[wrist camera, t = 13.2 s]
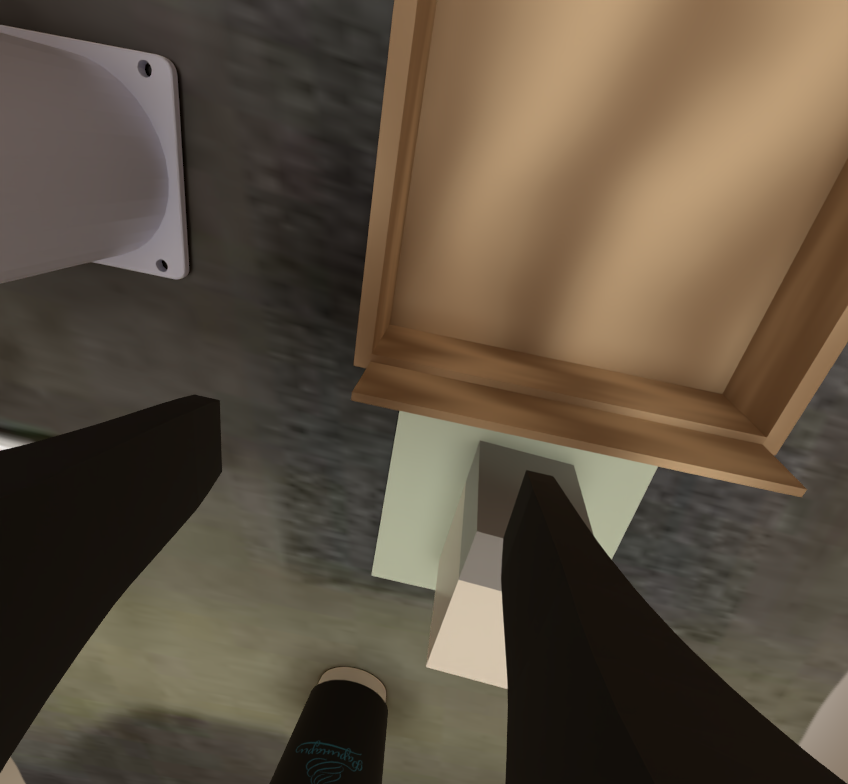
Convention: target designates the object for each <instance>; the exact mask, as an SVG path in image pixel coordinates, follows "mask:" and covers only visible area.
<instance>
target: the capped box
mask: <svg viewBox="0 0 848 784" xmlns="http://www.w3.org/2000/svg"><path fill="white" fill-rule="evenodd" d="M526 470H528V471H533V472H537V473H542V474H546V475H551V476H553V477H554V478H555V479H556V481H557V482H558V484H559V485H560V487H561V488H562V490H563V491H564V493H565V494H566V496H567V497H568V499H569V500H570V502H571V503H572V505H573V506H574V508H575V509H576V511H577V512H578V514H579V515H580V517H581V518H582V520H583V521H584V523H585V524H586V526H587V527H588V528H589V530H590V531H591V533H592V534H593V531H592V528H591V524H590V521H589V517H588V514H587V510H586V506H585V503H584V499H583V496H582V492H581V489H580V485H579V482H578V478H577V475H576V471H575V468H574V465H571V464H568V463H564V462H560V461H556V460H553V459H549V458H545V457H541V456H537V455H534V454H530V453H526V452H522V451H518V450H515V449H511V448H507V447H503V446H500V445H496V444H492V443H488V442H484V441H481V440H480V442H479V444H478V447H477V450H476V453H475V456H474V459H473V462H472V465H471V468H470V471H469V474H468V477H467V480H466V483H465V486H464V489H463V492H462V495H461V498H460V501H459V503H458V506H457V509H456V512H455V515H454V518H453V521H452V524H451V527H450V530H449V533H448V536H447V539H446V542H445V545H444V548H443V551H442V554H441V557H440V559H439V566H438V574H437V582H436V590H435V598H434V606H433V614H432V622H431V629H430V637H429V645H428V653H427V661H426V667H428V668H432V669H435V670H439V671H443V672H447V673H450V674H454V675H458V676H461V677H465V678H469V679H472V680H476V681H480V682H484V683H487V684H491V685H495V686H498V687H502V688H506V689H508V686H507V668H506V653H505V637H504V622H503V607H502V590H501V567H502V551H503V537H504V534H505V531H506V528H507V525H508V522H509V519H510V516H511V514H512V511H513V508H514V505H515V502H516V499H517V496H518V493H519V490H520V487H521V484H522V481H523V478H524V475H525V472H526Z"/></svg>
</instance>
